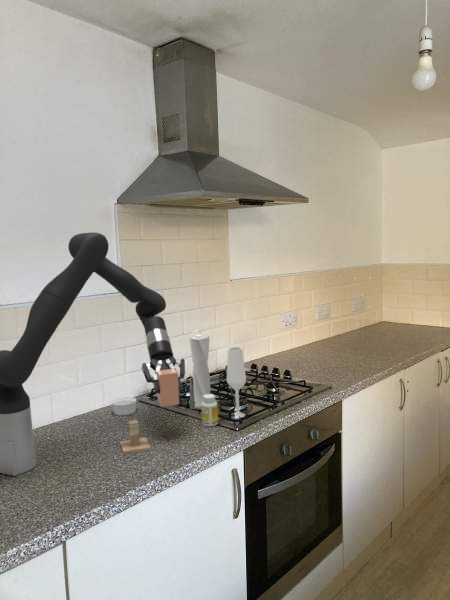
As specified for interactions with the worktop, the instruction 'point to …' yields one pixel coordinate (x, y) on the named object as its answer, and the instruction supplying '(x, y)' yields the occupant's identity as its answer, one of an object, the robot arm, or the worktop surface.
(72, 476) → the worktop surface
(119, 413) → the ramekin
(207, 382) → the skyscraper
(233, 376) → the champagne flute
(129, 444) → the post
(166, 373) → the brown upright block
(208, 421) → the supplement bottle
